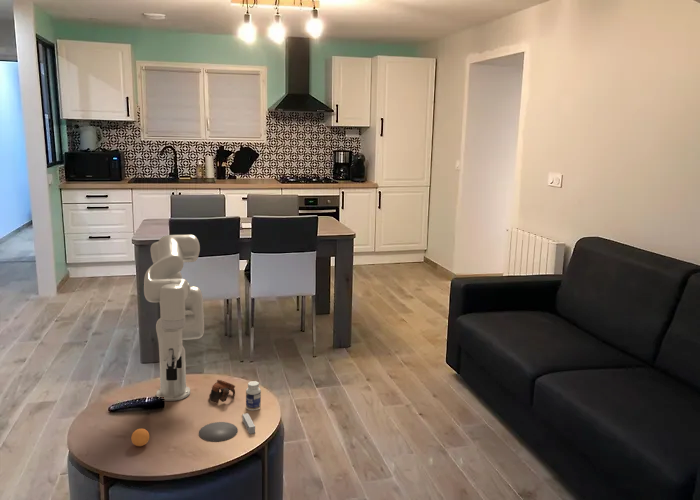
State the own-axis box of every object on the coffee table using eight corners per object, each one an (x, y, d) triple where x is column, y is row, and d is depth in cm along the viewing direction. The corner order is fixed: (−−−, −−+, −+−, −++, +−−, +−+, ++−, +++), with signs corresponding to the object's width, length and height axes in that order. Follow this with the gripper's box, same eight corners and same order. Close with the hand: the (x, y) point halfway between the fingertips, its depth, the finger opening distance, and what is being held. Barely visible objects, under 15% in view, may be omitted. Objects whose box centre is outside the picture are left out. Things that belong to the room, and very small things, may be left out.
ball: (131, 442, 188) (130, 426, 187) (149, 439, 190) (148, 424, 189) (131, 450, 183) (131, 435, 182) (150, 448, 185) (149, 432, 184)
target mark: (196, 425, 200) (196, 425, 200) (234, 420, 204) (234, 419, 204) (201, 444, 188) (201, 443, 188) (241, 438, 193) (240, 437, 193)
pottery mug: (204, 397, 222) (212, 377, 224) (226, 404, 226) (234, 384, 228) (212, 403, 211) (220, 381, 213) (235, 410, 215) (243, 388, 217)
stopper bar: (242, 420, 204) (242, 414, 204) (248, 419, 205) (248, 413, 205) (249, 434, 196) (249, 427, 195) (255, 433, 196) (255, 426, 196)
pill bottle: (243, 407, 214) (243, 382, 213) (255, 402, 218) (255, 379, 216) (251, 412, 211) (251, 387, 209) (263, 408, 214) (263, 383, 212)
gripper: (165, 315, 190) (167, 363, 193) (155, 332, 173) (157, 385, 176) (189, 314, 191) (189, 363, 194) (181, 331, 174) (182, 384, 177)
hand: (174, 373), depth 185 cm, fingers open, 9 cm apart
